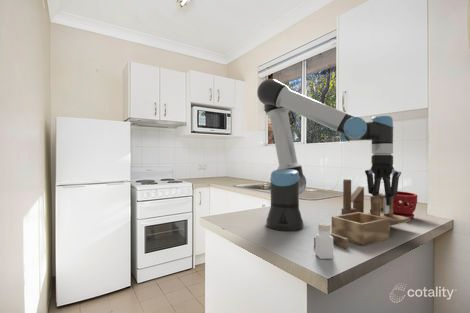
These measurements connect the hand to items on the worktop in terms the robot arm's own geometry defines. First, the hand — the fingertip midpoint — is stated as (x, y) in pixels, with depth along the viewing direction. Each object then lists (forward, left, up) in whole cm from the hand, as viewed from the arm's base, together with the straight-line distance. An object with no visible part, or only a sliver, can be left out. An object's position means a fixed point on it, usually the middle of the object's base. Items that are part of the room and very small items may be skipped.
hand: (382, 212), depth 99 cm
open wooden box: (+2, -17, -7) cm, 18 cm away
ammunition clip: (-10, +14, -7) cm, 19 cm away
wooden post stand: (0, 0, -3) cm, 3 cm away
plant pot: (-7, +28, -7) cm, 30 cm away
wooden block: (-20, +10, -7) cm, 23 cm away
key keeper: (+4, -35, -7) cm, 36 cm away
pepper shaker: (+8, -43, -7) cm, 44 cm away
